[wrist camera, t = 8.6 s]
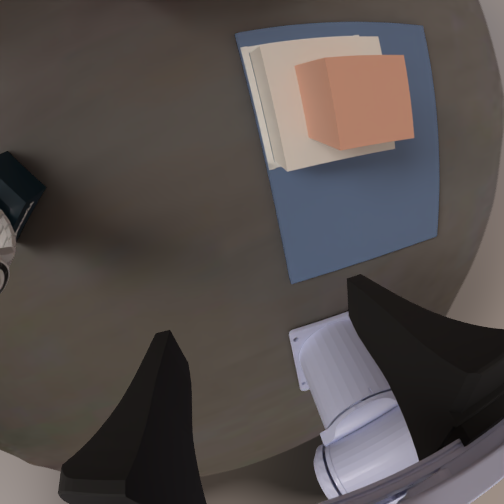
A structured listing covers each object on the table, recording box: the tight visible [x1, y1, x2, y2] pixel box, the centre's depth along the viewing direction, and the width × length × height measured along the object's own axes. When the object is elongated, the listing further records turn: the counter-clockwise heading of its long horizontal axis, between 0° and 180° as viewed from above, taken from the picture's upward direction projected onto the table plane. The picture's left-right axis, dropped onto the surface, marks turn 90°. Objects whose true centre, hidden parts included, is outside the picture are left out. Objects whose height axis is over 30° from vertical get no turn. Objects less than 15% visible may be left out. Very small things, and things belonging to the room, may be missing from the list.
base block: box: [250, 36, 395, 172], centre depth 16 cm, size 7×7×3 cm
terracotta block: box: [294, 55, 414, 151], centre depth 13 cm, size 4×4×4 cm
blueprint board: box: [235, 22, 439, 284], centre depth 20 cm, size 18×14×1 cm
